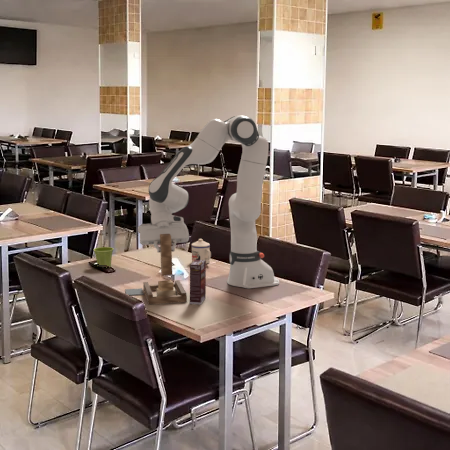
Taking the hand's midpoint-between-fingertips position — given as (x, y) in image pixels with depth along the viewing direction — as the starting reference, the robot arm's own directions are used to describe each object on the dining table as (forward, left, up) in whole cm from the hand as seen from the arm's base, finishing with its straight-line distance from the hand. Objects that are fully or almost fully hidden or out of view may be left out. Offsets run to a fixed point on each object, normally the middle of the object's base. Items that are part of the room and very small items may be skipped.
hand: (166, 251), depth 268 cm
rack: (+1, +3, -18) cm, 18 cm away
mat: (+13, -4, -18) cm, 22 cm away
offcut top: (+1, +6, -14) cm, 15 cm away
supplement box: (-11, +13, -18) cm, 25 cm away
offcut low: (+1, +6, -18) cm, 19 cm away
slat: (0, -1, -9) cm, 9 cm away
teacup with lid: (-24, -47, -18) cm, 56 cm away
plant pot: (+23, -49, -18) cm, 57 cm away
